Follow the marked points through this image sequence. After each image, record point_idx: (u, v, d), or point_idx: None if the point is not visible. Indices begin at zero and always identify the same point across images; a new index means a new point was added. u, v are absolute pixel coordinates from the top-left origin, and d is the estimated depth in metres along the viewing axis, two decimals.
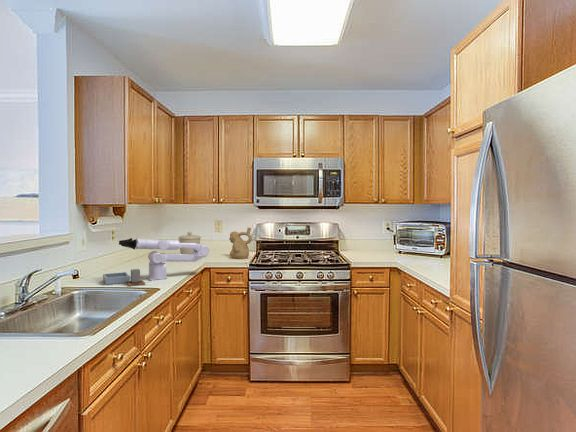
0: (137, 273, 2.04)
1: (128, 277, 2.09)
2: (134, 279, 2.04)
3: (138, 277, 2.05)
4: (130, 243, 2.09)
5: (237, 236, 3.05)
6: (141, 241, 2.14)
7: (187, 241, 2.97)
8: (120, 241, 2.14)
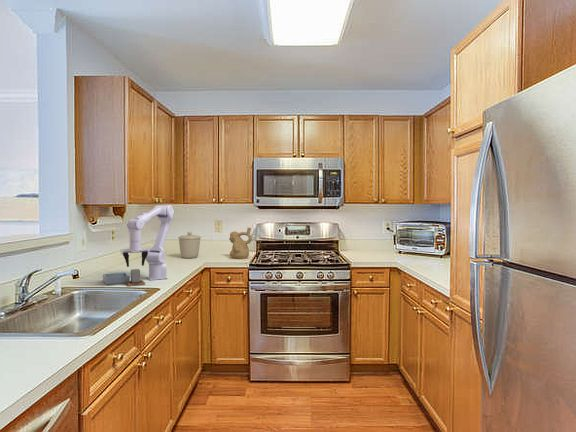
0: (137, 273, 2.04)
1: (128, 277, 2.09)
2: (134, 279, 2.04)
3: (138, 277, 2.05)
4: None
5: (237, 236, 3.05)
6: (140, 246, 2.05)
7: (187, 241, 2.97)
8: (128, 265, 2.03)
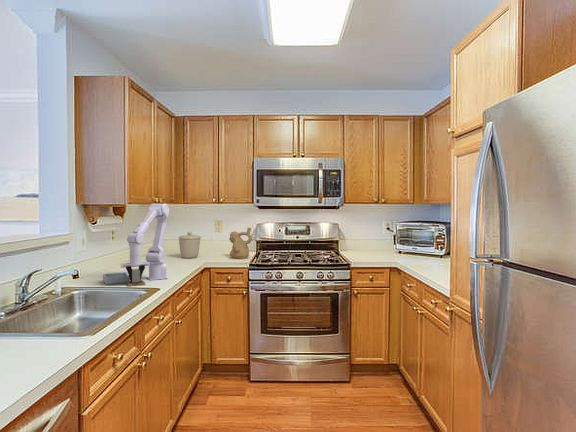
0: (137, 273, 2.04)
1: (128, 277, 2.09)
2: (134, 279, 2.04)
3: (138, 277, 2.05)
4: None
5: (237, 236, 3.05)
6: (140, 260, 2.05)
7: (187, 241, 2.97)
8: (131, 279, 2.04)
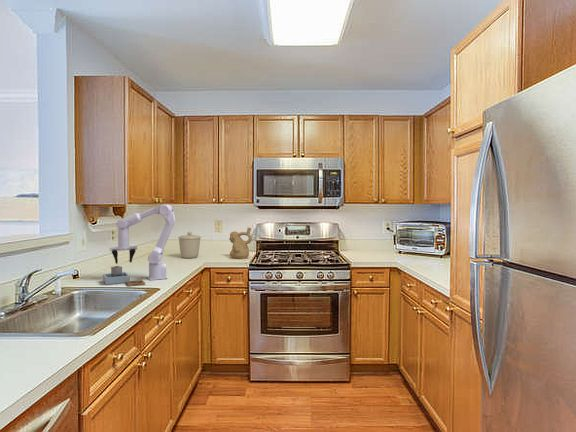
0: (120, 270, 2.10)
1: (128, 277, 2.09)
2: (117, 276, 2.09)
3: (120, 273, 2.11)
4: None
5: (237, 236, 3.05)
6: (128, 244, 2.19)
7: (187, 241, 2.97)
8: (117, 262, 2.17)
